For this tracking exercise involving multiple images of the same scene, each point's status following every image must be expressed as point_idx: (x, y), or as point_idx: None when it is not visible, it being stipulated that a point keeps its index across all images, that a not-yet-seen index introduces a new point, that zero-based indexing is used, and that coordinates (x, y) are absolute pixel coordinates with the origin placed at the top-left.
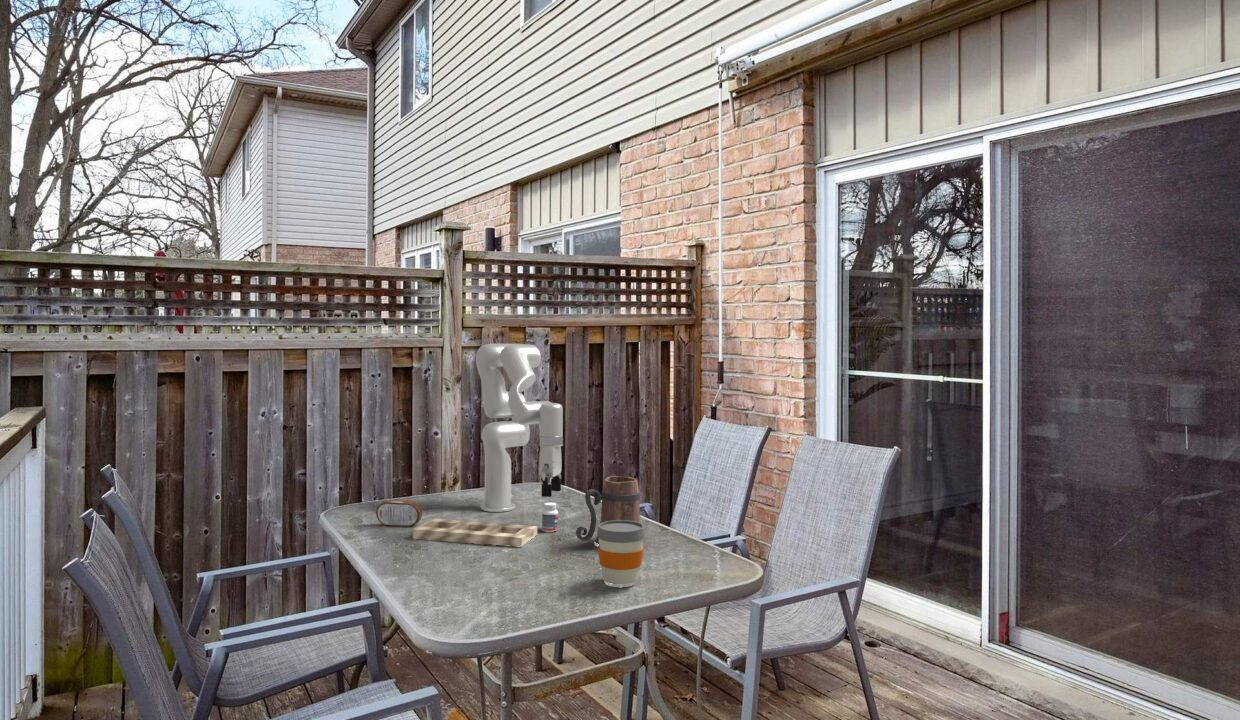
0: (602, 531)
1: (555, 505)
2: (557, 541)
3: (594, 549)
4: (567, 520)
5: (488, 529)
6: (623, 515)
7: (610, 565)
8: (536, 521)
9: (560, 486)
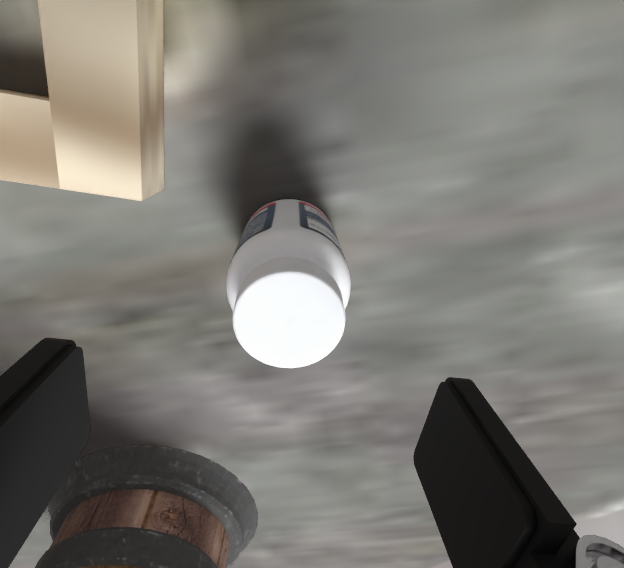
0: None
1: (269, 360)
2: (89, 313)
3: None
4: (514, 298)
5: None
6: None
7: None
8: (510, 118)
9: (437, 510)
